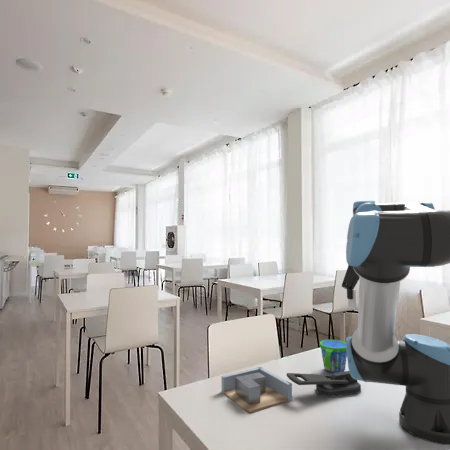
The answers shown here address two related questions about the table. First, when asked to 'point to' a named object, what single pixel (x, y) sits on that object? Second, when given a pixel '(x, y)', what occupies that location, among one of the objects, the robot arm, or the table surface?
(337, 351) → the snack cup
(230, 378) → the corner walls
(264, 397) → the cork mat
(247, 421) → the table surface
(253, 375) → the angle bracket
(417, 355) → the robot arm
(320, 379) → the zipper pull
